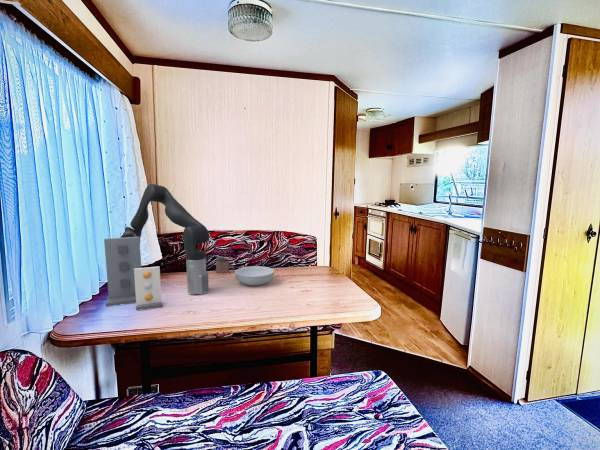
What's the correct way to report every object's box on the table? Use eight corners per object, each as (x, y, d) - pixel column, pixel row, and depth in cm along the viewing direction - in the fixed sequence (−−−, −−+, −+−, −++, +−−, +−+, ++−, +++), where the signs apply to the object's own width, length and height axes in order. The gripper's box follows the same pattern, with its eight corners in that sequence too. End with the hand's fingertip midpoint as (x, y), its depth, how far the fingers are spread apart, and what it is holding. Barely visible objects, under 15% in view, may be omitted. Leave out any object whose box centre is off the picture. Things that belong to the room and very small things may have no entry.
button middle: (121, 266, 155) (121, 259, 155) (129, 265, 157) (129, 258, 156) (119, 271, 147) (119, 263, 147) (128, 270, 149) (127, 262, 148)
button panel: (110, 296, 155) (105, 236, 151) (144, 292, 161) (141, 234, 157) (105, 306, 143) (100, 241, 139) (143, 301, 149) (139, 239, 145)
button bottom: (122, 282, 156) (122, 275, 156) (131, 281, 158) (130, 274, 157) (120, 288, 148) (120, 280, 148) (129, 287, 150) (128, 279, 149)
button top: (120, 250, 154) (119, 242, 154) (128, 249, 155) (128, 242, 155) (118, 253, 146) (117, 246, 146) (127, 253, 147) (126, 245, 147)
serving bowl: (272, 289, 166) (271, 276, 165) (231, 289, 166) (230, 276, 165) (275, 277, 187) (275, 265, 186) (239, 277, 187) (239, 265, 186)
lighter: (230, 272, 196) (229, 256, 194) (228, 274, 192) (227, 257, 191) (217, 272, 196) (216, 256, 195) (215, 274, 193) (214, 257, 192)
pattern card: (137, 305, 144) (134, 267, 142) (161, 302, 148) (159, 265, 145) (136, 310, 138) (133, 270, 136) (161, 307, 142) (159, 268, 140)
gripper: (113, 233, 171) (109, 238, 155) (141, 231, 176) (139, 236, 160) (114, 247, 172) (110, 253, 156) (142, 245, 177) (140, 251, 161)
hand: (125, 244), depth 158 cm, fingers closed
